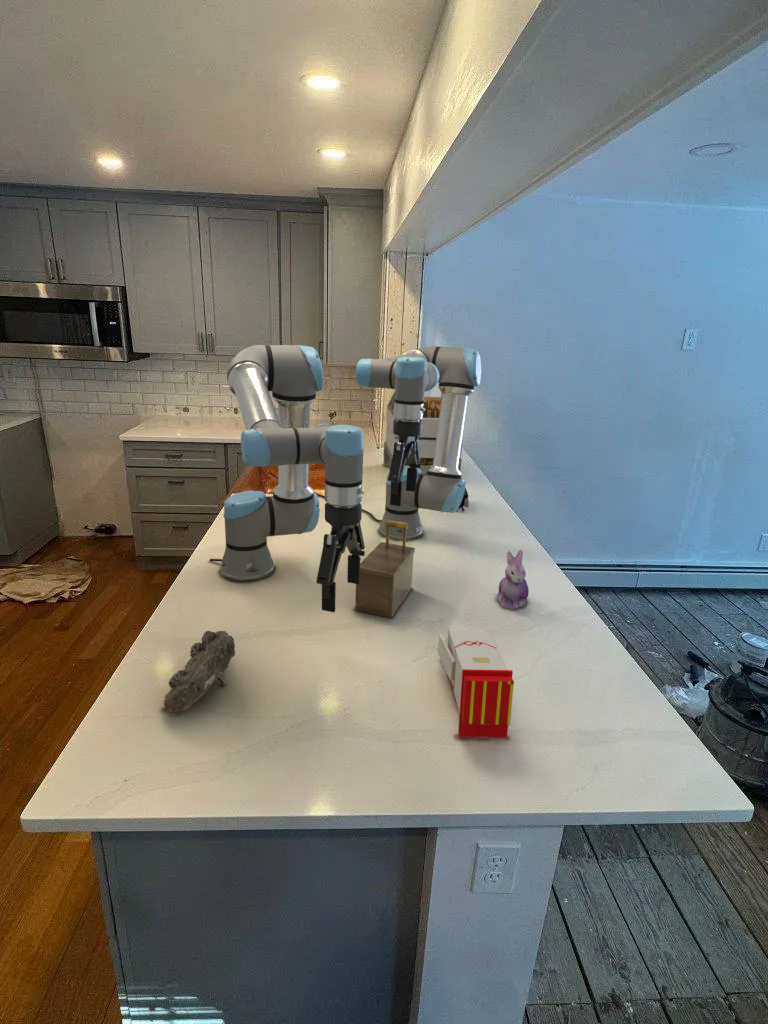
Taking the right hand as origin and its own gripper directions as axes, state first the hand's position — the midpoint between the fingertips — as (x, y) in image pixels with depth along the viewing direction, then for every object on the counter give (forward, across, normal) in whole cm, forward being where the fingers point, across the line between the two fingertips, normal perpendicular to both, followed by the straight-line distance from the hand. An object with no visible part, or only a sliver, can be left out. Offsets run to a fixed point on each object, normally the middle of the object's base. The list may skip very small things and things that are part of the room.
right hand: (403, 497), depth 153 cm
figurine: (+27, +4, -32) cm, 42 cm away
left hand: (+11, -39, +1) cm, 41 cm away
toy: (+27, -39, -29) cm, 55 cm away
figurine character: (+27, +76, 0) cm, 81 cm away
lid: (+16, -8, +1) cm, 18 cm away
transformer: (+27, +117, +28) cm, 124 cm away
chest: (+27, -8, +1) cm, 28 cm away
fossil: (+27, -58, +23) cm, 68 cm away
